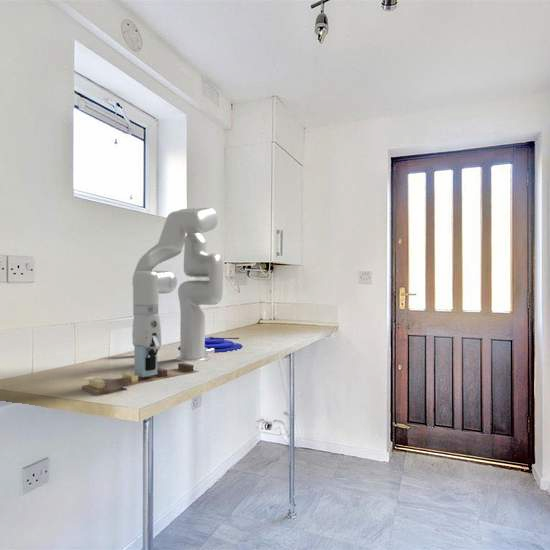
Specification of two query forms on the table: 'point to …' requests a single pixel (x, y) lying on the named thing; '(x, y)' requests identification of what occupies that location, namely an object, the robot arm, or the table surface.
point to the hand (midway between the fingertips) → (145, 368)
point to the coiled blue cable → (221, 344)
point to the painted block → (142, 362)
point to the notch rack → (134, 379)
